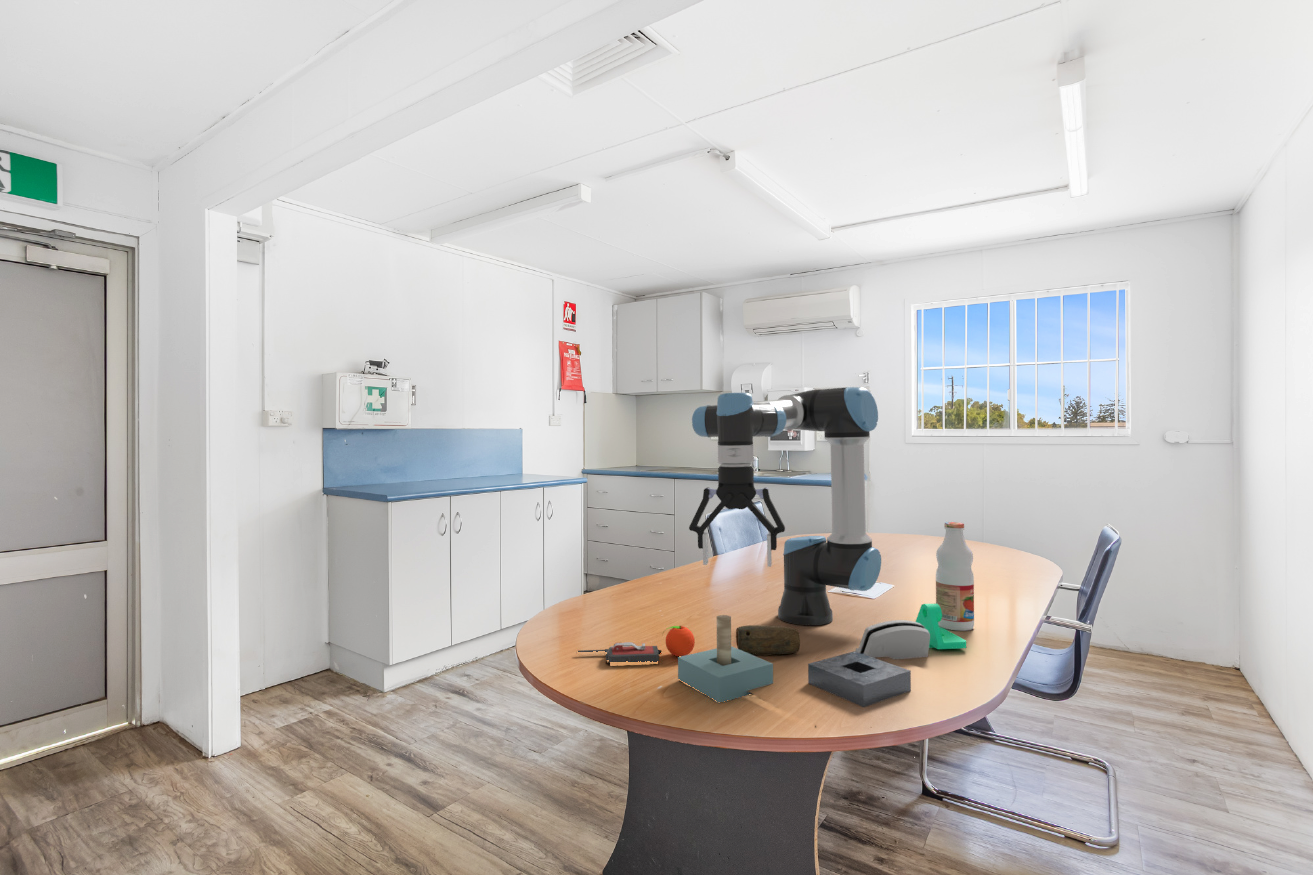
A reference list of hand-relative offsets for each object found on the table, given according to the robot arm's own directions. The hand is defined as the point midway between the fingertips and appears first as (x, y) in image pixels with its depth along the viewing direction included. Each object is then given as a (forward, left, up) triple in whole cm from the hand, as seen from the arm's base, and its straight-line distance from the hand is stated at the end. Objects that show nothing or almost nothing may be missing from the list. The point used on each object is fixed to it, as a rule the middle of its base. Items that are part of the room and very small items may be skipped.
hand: (737, 564), depth 138 cm
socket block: (+1, -5, -24) cm, 25 cm away
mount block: (+19, +15, -24) cm, 35 cm away
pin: (+1, -5, -23) cm, 24 cm away
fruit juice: (+3, +73, -25) cm, 78 cm away
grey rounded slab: (+10, +39, -25) cm, 47 cm away
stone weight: (-8, +16, -25) cm, 31 cm away
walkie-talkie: (-24, -15, -25) cm, 38 cm away
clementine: (-19, -3, -25) cm, 31 cm away
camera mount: (+10, +56, -25) cm, 62 cm away
